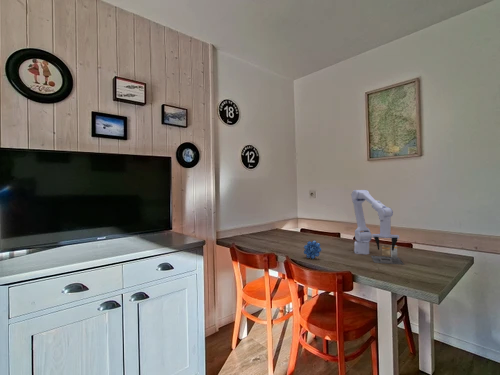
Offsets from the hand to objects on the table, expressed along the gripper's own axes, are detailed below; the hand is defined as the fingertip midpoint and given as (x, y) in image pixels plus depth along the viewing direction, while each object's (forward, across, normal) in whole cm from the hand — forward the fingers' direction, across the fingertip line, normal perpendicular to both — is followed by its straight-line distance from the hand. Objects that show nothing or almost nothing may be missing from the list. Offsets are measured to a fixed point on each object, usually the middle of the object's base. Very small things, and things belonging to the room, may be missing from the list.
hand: (385, 249), depth 159 cm
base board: (+8, +1, +3) cm, 8 cm away
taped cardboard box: (+3, 0, 0) cm, 3 cm away
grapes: (+8, -43, -2) cm, 44 cm away
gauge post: (+7, +6, +8) cm, 12 cm away
